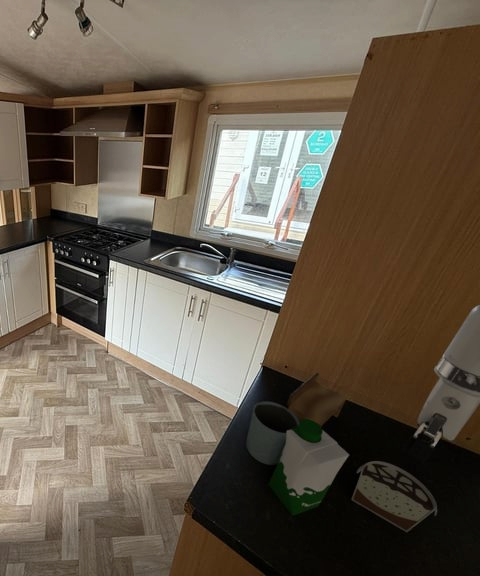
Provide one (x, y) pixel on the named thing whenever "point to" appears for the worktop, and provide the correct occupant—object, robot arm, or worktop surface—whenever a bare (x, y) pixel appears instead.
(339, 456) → the milk carton
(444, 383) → the robot arm
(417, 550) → the worktop surface
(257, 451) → the grey cup
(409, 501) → the food container
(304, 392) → the paper bag
